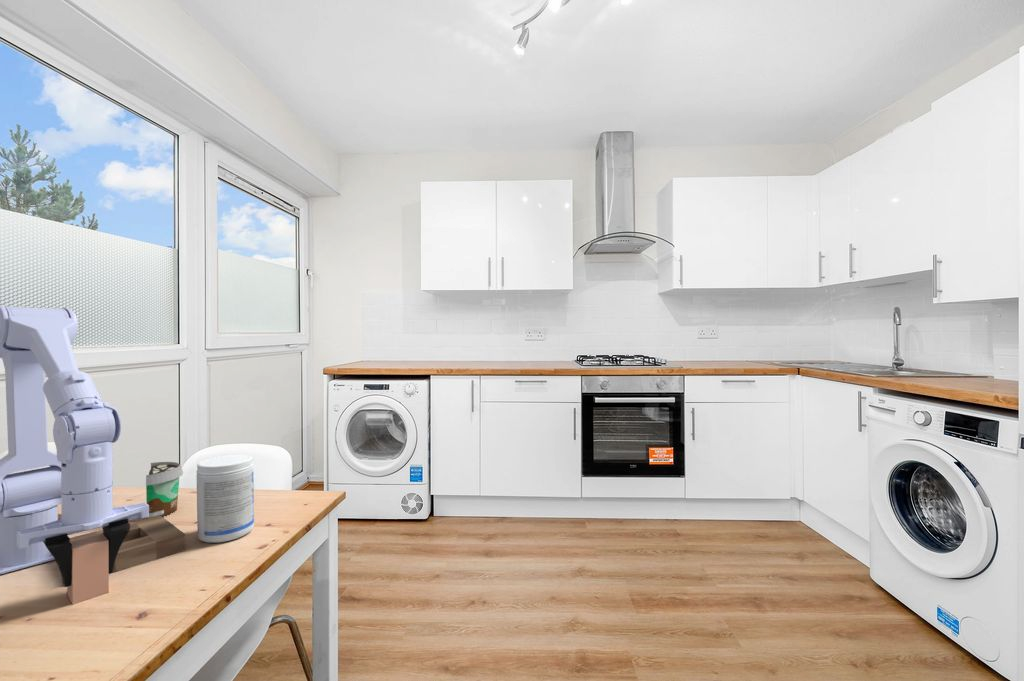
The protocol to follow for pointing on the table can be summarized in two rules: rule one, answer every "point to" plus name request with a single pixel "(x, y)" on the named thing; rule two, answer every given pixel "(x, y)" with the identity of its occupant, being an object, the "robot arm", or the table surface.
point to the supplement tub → (225, 498)
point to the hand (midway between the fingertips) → (88, 577)
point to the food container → (163, 488)
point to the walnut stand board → (146, 542)
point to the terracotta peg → (89, 568)
